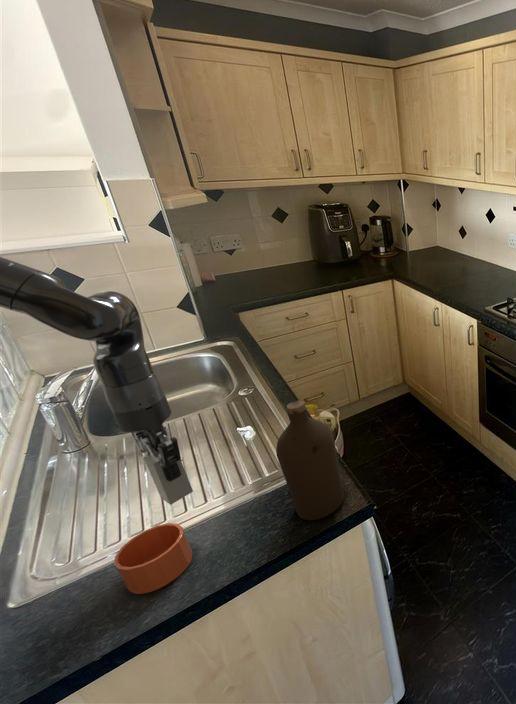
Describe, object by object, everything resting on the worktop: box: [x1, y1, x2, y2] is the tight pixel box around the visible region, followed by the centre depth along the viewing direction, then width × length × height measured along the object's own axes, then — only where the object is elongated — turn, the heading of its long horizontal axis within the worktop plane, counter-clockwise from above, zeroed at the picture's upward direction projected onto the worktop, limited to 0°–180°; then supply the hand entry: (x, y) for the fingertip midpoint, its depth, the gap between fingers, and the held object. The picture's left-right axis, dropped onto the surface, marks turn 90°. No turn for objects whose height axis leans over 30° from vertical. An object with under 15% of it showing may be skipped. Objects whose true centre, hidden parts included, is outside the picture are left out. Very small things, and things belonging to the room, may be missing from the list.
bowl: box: [113, 522, 193, 595], centre depth 73 cm, size 9×9×6 cm
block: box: [143, 450, 194, 506], centre depth 80 cm, size 4×4×10 cm
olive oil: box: [275, 399, 345, 521], centre depth 84 cm, size 11×11×25 cm
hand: (168, 474), depth 80 cm, fingers closed on block, 4 cm apart
